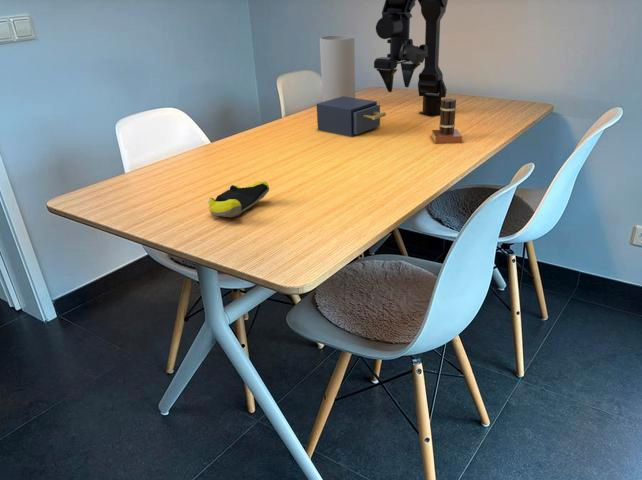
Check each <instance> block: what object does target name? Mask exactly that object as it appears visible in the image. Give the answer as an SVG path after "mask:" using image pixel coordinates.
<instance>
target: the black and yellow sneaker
mask: <svg viewBox="0 0 642 480" xmlns="http://www.w3.org/2000/svg"><path fill="white" fill-rule="evenodd" d="M269 191H270V186H269V183H268V182H267V181H257V182H255V183H253V184H251V185H248V186H246V187H240V186H238V185H236V184H235V185H234V184H231V185H229V186H228V189H227V190H225V191H223V192H222V193H221V194H219V195H217V196H216V197H215V198H213V197H208V198H206V201H207V203H208V205H209V206H208V209H209V212H210V214H211V215H213V216H214V217H222V218H223V217H224V218H234V217H235V218H237V217H239V216H241V215H242V213H243V212H244V211H246V210H248V209H250V208H251V207H252V206H254V205H256V204H257V202H259V201H260V200H262V199H263V198H265V196H266V195H267V194H268V193H269Z"/></svg>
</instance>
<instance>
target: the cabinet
mask: <svg viewBox="0 0 642 480" xmlns="http://www.w3.org/2000/svg"><path fill="white" fill-rule="evenodd" d="M372 105H373V106H375V105H378V101H377V100H369V99H364V98H357V97H355V98H351V97H344V96H342V97H339V98H335V99H332V100H328V101H325V102H323V101H322V102H317V103H316V123H317V131H321V132H326V133H330V134H336V135H341V136H346V137H349V138H350V137H355V136H357V135H360V134H363V133H365V132H369V131H372V130H374V129H376V128H378V127H376V128H373V129H370V130H367V131H365V132H362V133H359V134H354V131H353V114H352V112H353V111H356V110H359V109H362V108H365V107H369V106H372Z"/></svg>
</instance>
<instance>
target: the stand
mask: <svg viewBox="0 0 642 480" xmlns="http://www.w3.org/2000/svg"><path fill="white" fill-rule="evenodd" d="M439 132H440V129H431V138H432V140H433V142H434V143H435V144H457V143H458V144H459V143H460V144H462V143H463V141H462V139H463V136H462V133H460V131H459V130H458V128H457V129H455V128H454V133H453V134H452V135H449V134H447V135H443V134H440V133H439Z"/></svg>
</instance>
